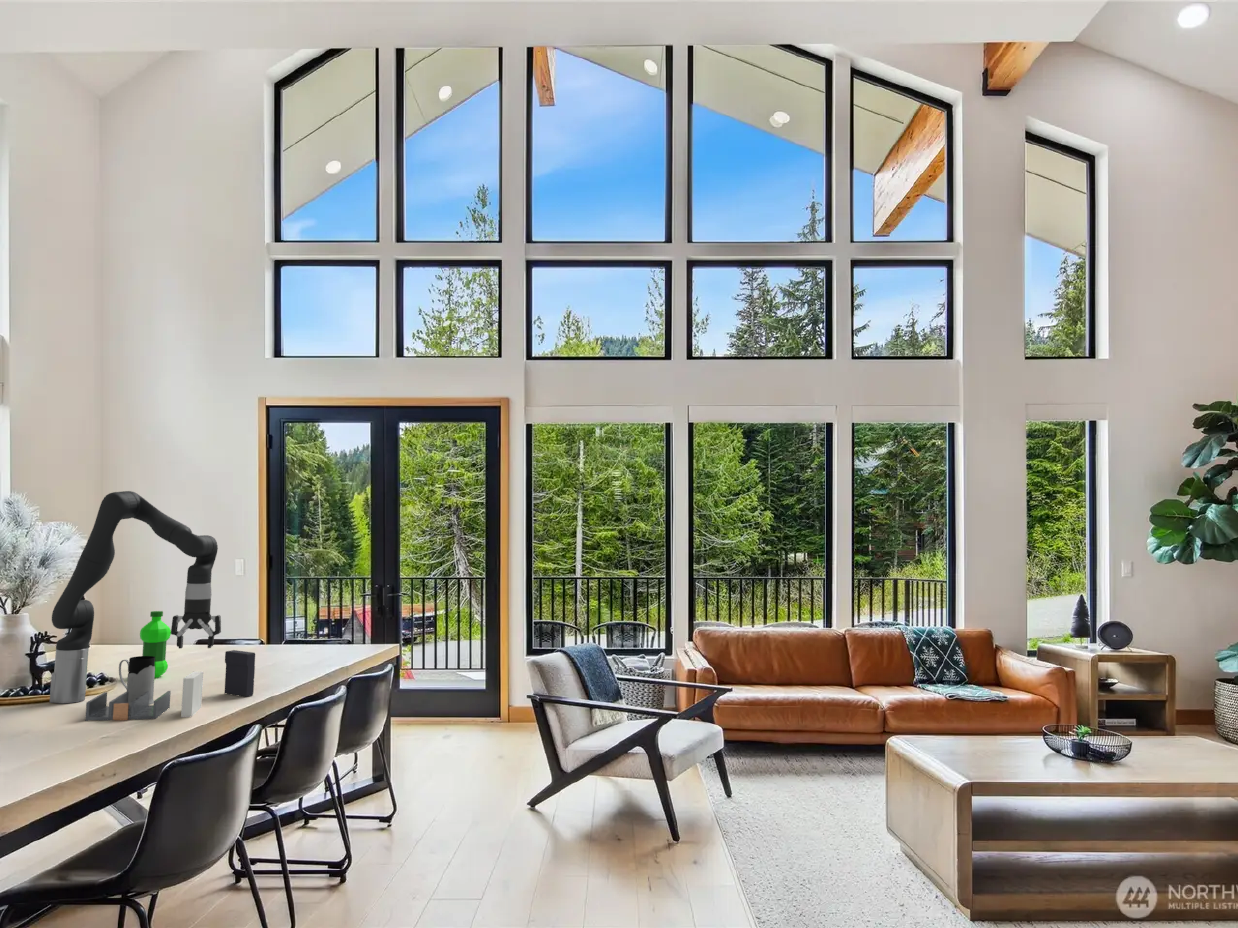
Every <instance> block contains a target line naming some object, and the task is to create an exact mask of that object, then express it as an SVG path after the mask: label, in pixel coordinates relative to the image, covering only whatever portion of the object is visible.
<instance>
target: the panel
mask: <svg viewBox="0 0 1238 928" xmlns="http://www.w3.org/2000/svg"><path fill="white" fill-rule="evenodd" d="M182 681H183V682H182V694H181V697H182V698H181V710H180V711H181V712H180V713H181V714H180V718H192V717H193V716H194V715H196V712H197V711H198V710H199V709H200V708H201V709H202V699H203V685H204V684H203V682H204V671H203V670H201V671H192V672H191V673H189V674H187V675H186V676H185V677H183V679H182ZM201 709H200V710H201ZM200 710H199V711H200ZM199 711H198V712H199ZM198 712H197V713H198ZM190 716H191V717H190Z"/></svg>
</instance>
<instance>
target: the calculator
mask: <svg viewBox="0 0 1238 928" xmlns="http://www.w3.org/2000/svg"><path fill="white" fill-rule="evenodd" d="M224 663H225V677H224V694H225V693H227V694H226V695H230V694H232V695H231V696H236V695H239V696H238V697H242V696H245V697H244V698H247V696H248V697H252V696H253V695H254V693H255V692H254V689H255V688H254V687H255V673H256V672H255V671H256V666H255V665H256V653H255V652H252V651H243V650H238V649H236V650H235V649H233V650H226V651H225V652H224Z"/></svg>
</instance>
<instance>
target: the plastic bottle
mask: <svg viewBox="0 0 1238 928" xmlns="http://www.w3.org/2000/svg"><path fill="white" fill-rule="evenodd" d="M163 616H164V611H163V610H155V611H154V610H153V611H150V617H151V620H150V621H149V622H147V624H145V625H144V626H143V627H141V629H140V631H139V639H140V640H141V641H142V643H143V644H142V655H141V656H154V657H155V677H154V679H156V678H161V677H162V676H163V675H164V674H165V673H166V672H167V671H168V666H169V664H168V662H167V660H166V659H167V658H166V657H167V656H166V653H167V641H168V640H170V637H171V635H172V634H171V627H170V626H168V624H166V623H165V622H164V621H162V617H163Z"/></svg>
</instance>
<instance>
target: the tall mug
mask: <svg viewBox="0 0 1238 928" xmlns="http://www.w3.org/2000/svg"><path fill="white" fill-rule="evenodd" d="M123 662H126V664H127V672H128V673H127V678H126V679H127V681H126V683H125V680H124V678H123V675H122V664H123ZM118 675H119V680H120V682H121V685H123V687H124V688H125V689H126V692H129V694H128V703H129V706H131V704H132V701H133V700H135V699H136V698H138V697H139V696H141V695H142V694H144V693H145V692H147V691H150V696H149V705H154V701H155V699H154V691H155V678H154V677H155V657H154V656H142V655H139V656H132V657H130V658H129V660H128V659H122V660H121V661H120V662H119V664H118Z"/></svg>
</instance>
